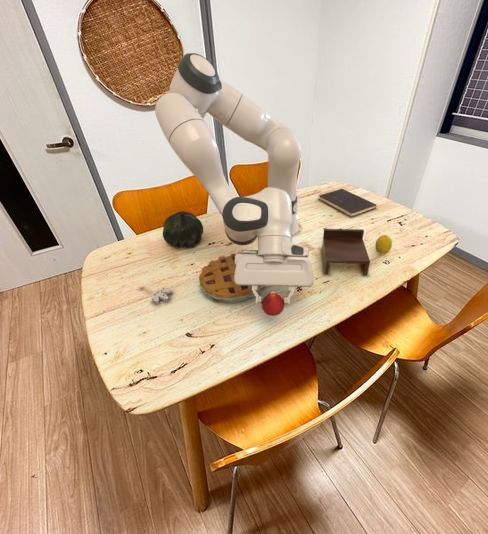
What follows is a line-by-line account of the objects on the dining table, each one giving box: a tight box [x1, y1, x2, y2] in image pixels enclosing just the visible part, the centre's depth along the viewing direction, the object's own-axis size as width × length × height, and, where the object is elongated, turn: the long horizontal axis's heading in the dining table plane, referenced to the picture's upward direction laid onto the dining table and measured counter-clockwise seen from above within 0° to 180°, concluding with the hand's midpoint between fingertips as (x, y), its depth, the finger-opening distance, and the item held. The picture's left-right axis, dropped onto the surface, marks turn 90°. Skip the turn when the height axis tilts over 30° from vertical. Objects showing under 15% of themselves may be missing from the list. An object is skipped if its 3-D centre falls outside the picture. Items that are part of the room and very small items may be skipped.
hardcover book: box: [318, 188, 377, 218], centre depth 135 cm, size 16×23×2 cm
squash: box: [162, 210, 204, 249], centre depth 106 cm, size 14×15×15 cm
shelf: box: [321, 228, 371, 277], centre depth 96 cm, size 15×14×9 cm
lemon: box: [374, 234, 393, 255], centre depth 100 cm, size 6×6×8 cm
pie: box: [198, 253, 264, 304], centre depth 89 cm, size 22×22×5 cm
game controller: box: [140, 287, 171, 305], centre depth 86 cm, size 6×12×3 cm, turn 79°
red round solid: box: [261, 290, 286, 317], centre depth 71 cm, size 6×6×8 cm
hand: (273, 304), depth 70 cm, fingers closed on red round solid, 6 cm apart
